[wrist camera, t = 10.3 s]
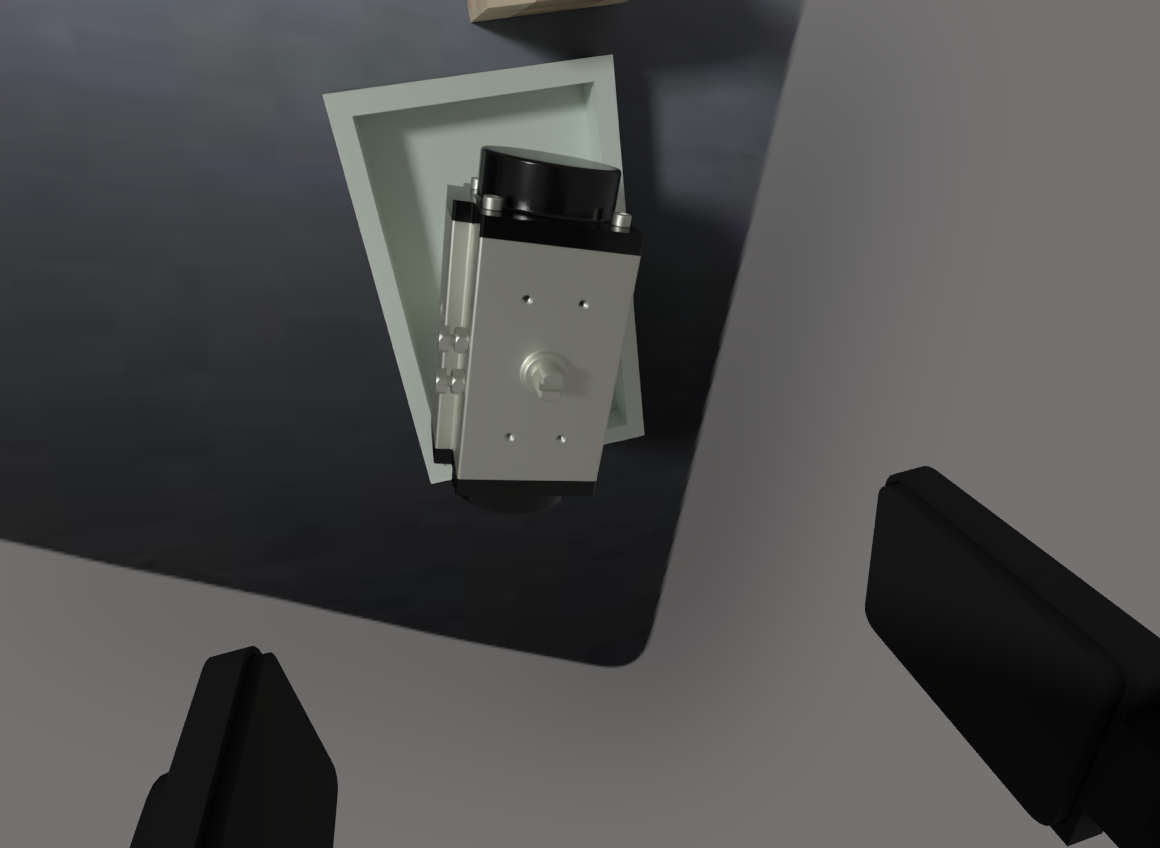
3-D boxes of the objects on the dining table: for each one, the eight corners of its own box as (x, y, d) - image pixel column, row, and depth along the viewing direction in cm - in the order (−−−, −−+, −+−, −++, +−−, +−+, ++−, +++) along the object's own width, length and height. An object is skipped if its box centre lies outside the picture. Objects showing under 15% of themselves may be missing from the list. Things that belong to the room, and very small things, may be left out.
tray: (329, 93, 25) (322, 94, 23) (596, 56, 27) (612, 54, 25) (429, 457, 33) (431, 483, 31) (629, 413, 35) (644, 435, 33)
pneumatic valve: (570, 146, 27) (670, 187, 17) (534, 400, 32) (595, 550, 22) (435, 124, 26) (456, 155, 16) (419, 394, 31) (426, 553, 21)
